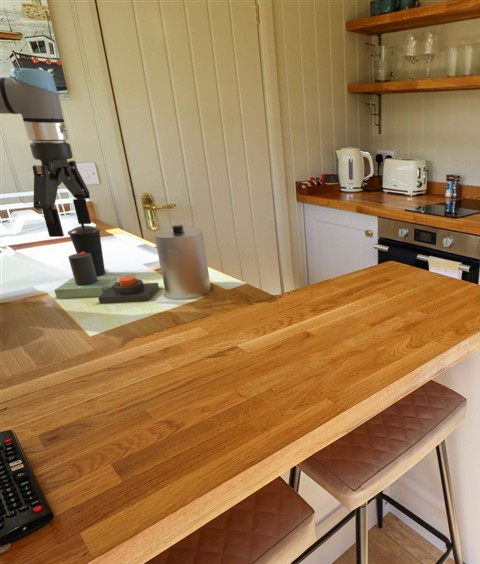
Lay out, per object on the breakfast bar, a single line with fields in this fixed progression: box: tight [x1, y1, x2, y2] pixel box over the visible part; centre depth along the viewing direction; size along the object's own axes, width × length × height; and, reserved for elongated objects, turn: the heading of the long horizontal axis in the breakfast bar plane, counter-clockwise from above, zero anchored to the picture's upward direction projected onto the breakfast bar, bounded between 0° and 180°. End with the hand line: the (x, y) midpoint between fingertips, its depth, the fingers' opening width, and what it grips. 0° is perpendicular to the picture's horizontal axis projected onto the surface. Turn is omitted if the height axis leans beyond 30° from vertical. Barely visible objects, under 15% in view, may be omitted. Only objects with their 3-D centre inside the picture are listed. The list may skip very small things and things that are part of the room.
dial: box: [68, 252, 98, 285], centre depth 111 cm, size 5×5×8 cm
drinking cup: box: [67, 224, 106, 277], centre depth 123 cm, size 8×8×20 cm
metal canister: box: [153, 224, 212, 300], centre depth 111 cm, size 14×11×19 cm
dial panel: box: [54, 275, 119, 300], centre depth 113 cm, size 11×9×3 cm
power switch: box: [118, 275, 136, 286], centre depth 110 cm, size 4×4×2 cm
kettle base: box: [97, 278, 160, 304], centre depth 111 cm, size 11×9×4 cm
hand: (71, 229), depth 107 cm, fingers open, 13 cm apart
